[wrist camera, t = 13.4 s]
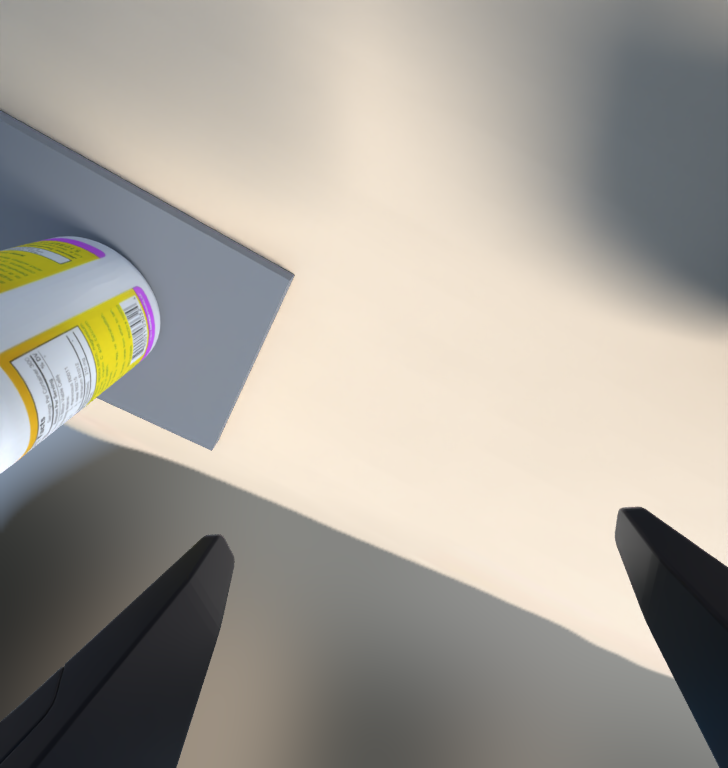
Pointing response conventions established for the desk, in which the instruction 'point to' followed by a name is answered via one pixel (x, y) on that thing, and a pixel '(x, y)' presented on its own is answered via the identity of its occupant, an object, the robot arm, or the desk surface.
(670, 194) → the desk surface
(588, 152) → the desk surface
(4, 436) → the supplement bottle
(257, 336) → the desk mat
